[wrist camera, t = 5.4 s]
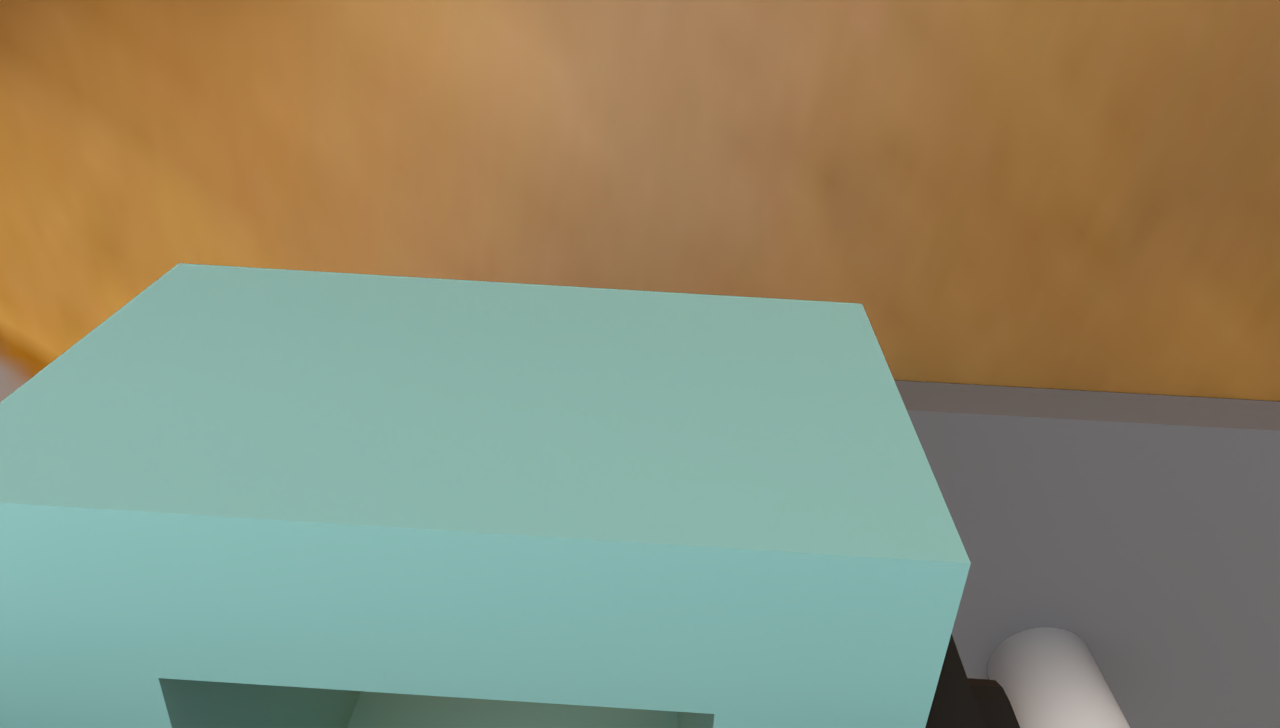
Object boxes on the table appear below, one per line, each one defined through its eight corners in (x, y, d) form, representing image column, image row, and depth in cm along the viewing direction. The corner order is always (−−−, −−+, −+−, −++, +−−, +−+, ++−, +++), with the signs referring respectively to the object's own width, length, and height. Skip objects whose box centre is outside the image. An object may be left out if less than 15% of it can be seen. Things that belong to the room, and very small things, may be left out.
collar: (862, 303, 9) (970, 564, 6) (779, 769, 13) (818, 1113, 9) (178, 263, 9) (-121, 494, 6) (273, 736, 13) (117, 1066, 9)
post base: (1410, 408, 24) (1671, 598, 17) (1203, 818, 31) (1334, 1053, 25) (781, 374, 24) (818, 550, 18) (726, 790, 31) (739, 1016, 25)
